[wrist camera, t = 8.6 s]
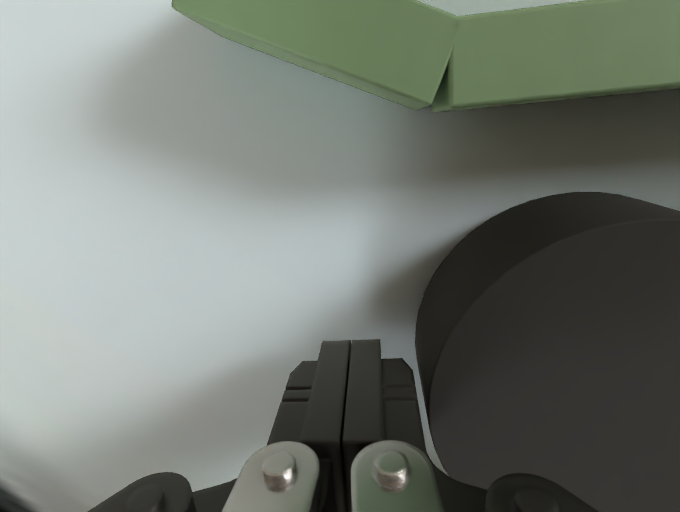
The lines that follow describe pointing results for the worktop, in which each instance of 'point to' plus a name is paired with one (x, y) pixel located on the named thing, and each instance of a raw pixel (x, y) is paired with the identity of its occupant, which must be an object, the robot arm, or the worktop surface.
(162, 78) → the worktop surface
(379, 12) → the frame
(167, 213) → the worktop surface
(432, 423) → the puck
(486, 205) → the worktop surface
